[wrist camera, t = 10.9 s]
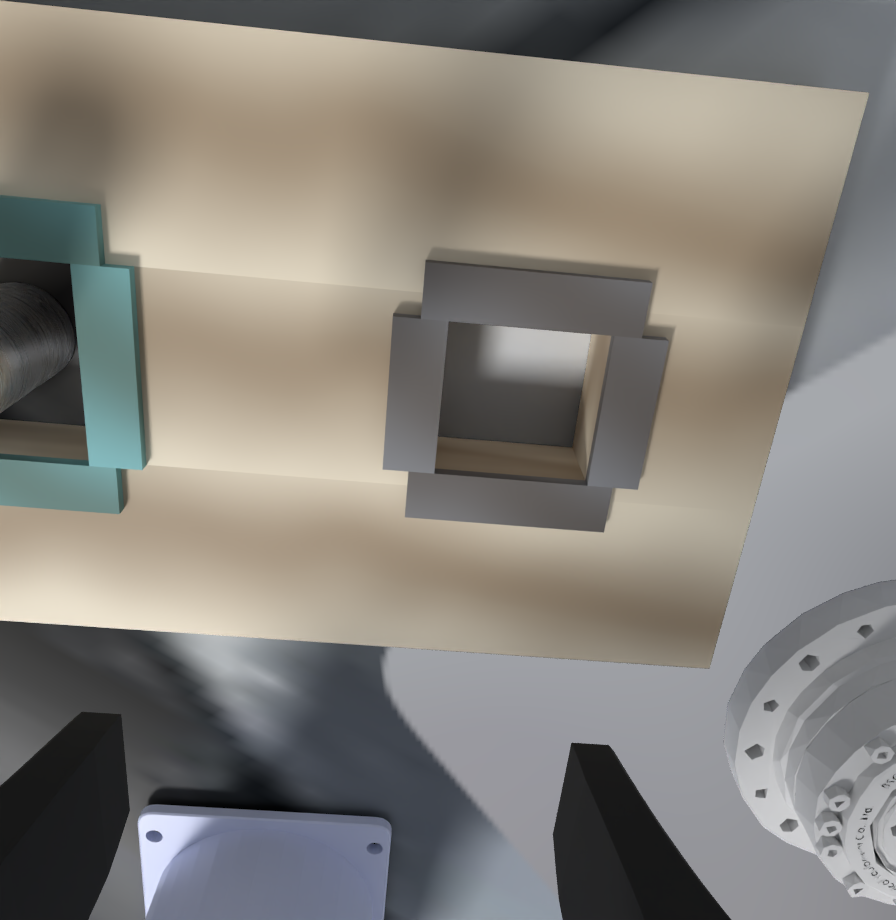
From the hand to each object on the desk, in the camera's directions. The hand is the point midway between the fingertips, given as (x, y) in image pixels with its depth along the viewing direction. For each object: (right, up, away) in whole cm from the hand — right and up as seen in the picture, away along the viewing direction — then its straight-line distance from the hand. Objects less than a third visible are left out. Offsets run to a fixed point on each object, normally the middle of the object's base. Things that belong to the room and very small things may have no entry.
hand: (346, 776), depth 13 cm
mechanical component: (+15, -3, +12) cm, 19 cm away
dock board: (-3, +8, +7) cm, 11 cm away
